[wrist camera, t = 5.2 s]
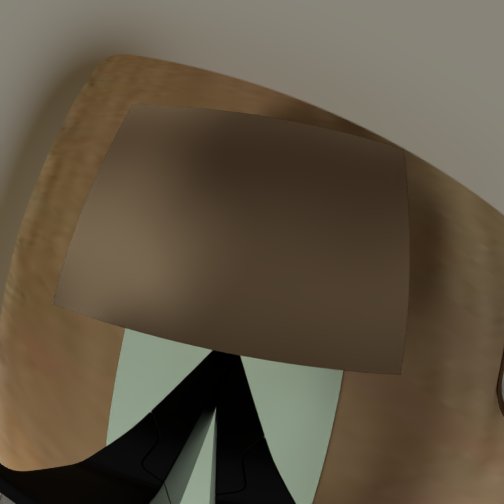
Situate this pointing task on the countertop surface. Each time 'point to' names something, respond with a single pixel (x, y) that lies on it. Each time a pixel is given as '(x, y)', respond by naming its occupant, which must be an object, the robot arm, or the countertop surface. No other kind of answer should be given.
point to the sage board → (265, 398)
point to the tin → (501, 388)
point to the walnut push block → (247, 239)
